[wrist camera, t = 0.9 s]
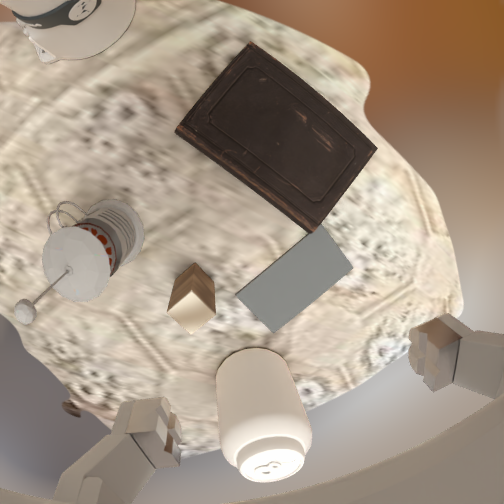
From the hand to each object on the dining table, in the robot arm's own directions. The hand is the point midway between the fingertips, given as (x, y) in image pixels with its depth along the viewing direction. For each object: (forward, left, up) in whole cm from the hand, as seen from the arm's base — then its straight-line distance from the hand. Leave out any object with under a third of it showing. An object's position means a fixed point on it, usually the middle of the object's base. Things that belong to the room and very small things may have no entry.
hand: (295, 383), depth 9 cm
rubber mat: (+15, 0, -35) cm, 38 cm away
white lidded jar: (+24, -16, -35) cm, 45 cm away
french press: (-9, -15, -35) cm, 39 cm away
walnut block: (+5, -11, -35) cm, 37 cm away
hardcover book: (-3, +12, -36) cm, 38 cm away
